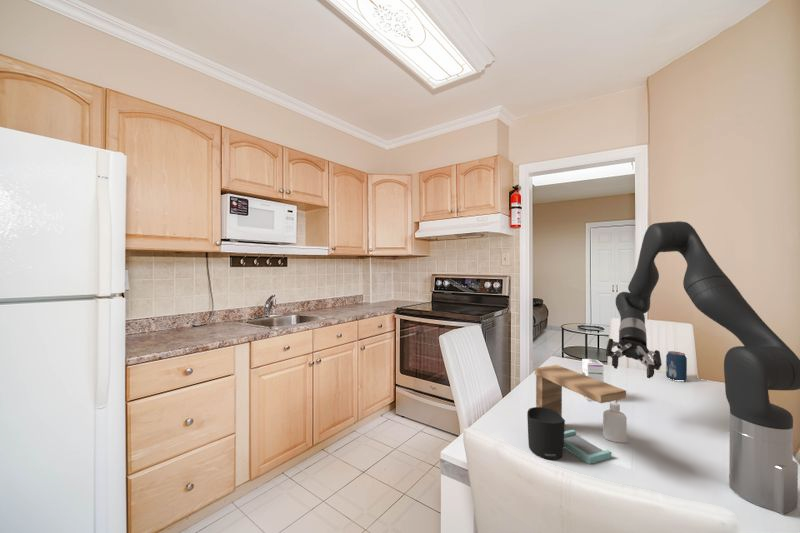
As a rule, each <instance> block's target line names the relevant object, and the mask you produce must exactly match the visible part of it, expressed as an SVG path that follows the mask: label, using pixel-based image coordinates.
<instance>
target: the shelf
mask: <svg viewBox="0 0 800 533" xmlns="http://www.w3.org/2000/svg"><path fill="white" fill-rule="evenodd" d="M534 375H535V376H536V377H535V379H536V380H535V381H536V382H535V383H536V384H535V386H536V387H535V389H536V390H535V405H536V406H535V407H544V408H549V409H552V410H555V411H556V412H558V413H559V414H560V415H561V417H562V418H563V414H562V413H563V411H562V410H563V398H562V397H563V388H565V389H567V390H569V391H572V392H575V393H577V394H578V395H581V396H583V397H584V396H585V397H588V398H590V399H592V400H594V401H593V402H597V403H599V404H605V403H610V402H613V401H615V400H617V401H619V400H624V399H626V398H627V390H626V389H623V388H621V387H617V386H615V385H612V384H609V383H607V382H602V381H599V380H596V379H594V378H591V377H588V376H586V375H583V374H582V373H580V372H577V371H574V370H572V369H569V368H567V367H563V366H561V365H558V364H554V365H546V366H540V367H535V368H534ZM585 397H584V398H585Z"/></svg>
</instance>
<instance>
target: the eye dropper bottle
mask: <svg viewBox="0 0 800 533" xmlns="http://www.w3.org/2000/svg"><path fill="white" fill-rule="evenodd" d="M602 416H603V417H602V435H603V437H604V438H603V439H605V440H607V441H610V442H613V443H619V444H620V443H623V444H624V443H627V441H628V439H627V437H628V433H627V432H628V431H627V428H628V427H627V425H628V424H627V423H628V422H627V416H626V414H625V413H624V412H622V411H621V404H620V403H618V400H615V401H610V402H609V409H605V410H604V411H603V414H602Z"/></svg>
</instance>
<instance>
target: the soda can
mask: <svg viewBox="0 0 800 533" xmlns="http://www.w3.org/2000/svg"><path fill="white" fill-rule="evenodd" d="M665 358H666V360H665V362H666V363H665V364H666V365H665V369H666V370H665V375H666V377H667V379H668V378H670V379H674V380H685V381H686V380H687V376H688V373H687V372H688V371H687V370H688V368H687V367H688V365H687V364H688V358H687V356H686V354H685V353H683V352H680V351H671V350H669V351H668V352H667V354H666V356H665ZM670 379H669V380H670Z"/></svg>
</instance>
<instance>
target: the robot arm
mask: <svg viewBox="0 0 800 533" xmlns="http://www.w3.org/2000/svg"><path fill="white" fill-rule="evenodd" d="M671 252H678V253H679V254H681V255H682V256H683V259H684V260H685V262H686V269H685V272H684V277H683V282H682V284H683V285H682V286H683V289H684V291H685V293H686V294H687V296H688V297H689V299H690V302H692V304H693V305H694V306H695V308H696V309H697V310H698V311H699V312H700V313H702V314H703V315H704V316H706V317H707V318H709V319H710V320H712V321H713V322H715V323H717V324H718V325H720V326H722V327H723V328H724V329H726V330H727V331H728V332H730V333H731V334H733V335H734V336H735V337H736V339H738V340H739V341H740V343H741V344H742V345H743V346H741V345H739V346H733V347H731V348H729V349H728V350H727V351H726V353H725V355H724V359H723V374H724V389H725V390H724V391H725V396H726V397H725V398H726V400H727V402H728V405H729V455H728V456H729V461H728V463H729V465H728V467H729V470H728V471H729V474H728V476H729V477H728V480H729V483H728V484H729V488H730V489H731V491H733V492H734V494H736V495H738V496H739V497H740V498H742V499H744V500H746V501H748V502H749V503H752V504H754V505H757V506H760V507H762V508H765V509H768V510H771V511H774V512H777V513H778V514H781V515H784V514H787V513H788V512H791V511H793V510H794V509H796V508H798V498H799V497H798V486H799V485H798V484H799V483H798V480H799V479H798V478H799V476H798V475H799V474H798V473H799V472H798V471H799V467H798V466H799V465H798V462H797V461H794V460H793V459H794V457H793V456H794V417H793V415H792V413H791V412H790V411H789V410H787V409H785V408H783V407H782V406H779V405H777V404H774V403H771V402H770V395H769V391H785V392H787V391H798V390H800V358H799V357H798V355H797V354H796V353H795V351H793V350H792V349H791V348H790V347H789V346H788V345H787V344H786V343H785V342H784V341H783V340H782V339H781V338H780V337H779V336H778V334H776V332H774V331H773V330H772V328H770V327H769V326H768V325H767V324H766V322H765V321H764V320H763V319H762V318H761V317H760V316H759V314H758V313H757V312H756V311H755V310H754V308H753V307H752V306H751V305H750V304H749V302H748V301H747V300H746V299H745V298H744V296H743V295H742V293H741V292H740V291H739V289H738V288H737V286H736V285H735V284H734V283H733V282H732V280H731V279H730V278H729V277H728V276H727V274H726V273H725V272H724V271H723V269H721V267H720V265H718V264H717V262H716V260H715V259H714V258H713V256H712V255H711V253H710V251H708V249H707V247H706V246H705V244H704V243H703V241H702V238H701V237H700V236H699V234H698V233H697V231H696V228H694V227H693V226H692V225H691V224H690V223H689V222H686V221H681V220H680V221H679V220H678V221H666V222H665V221H664V222H657V223H653V224H650V225H649V226H648V227H647V228H646V230H645V233H644V235H643V239H642V243H641V247H640V251H639V255H638V260H637V265H636V269H635V271H634V274H633V276H632V278H631V280H630V282H629V283H628V286H627V290H628V291H629V292H628V291H621V292H619V293H618V294H617V295H616V297H615V306H616V309H617V311H618V313H619V316H620V322H619V323H620V325H619V329H618V342H617V341H614V339H613V338H608V341H607V343H606V348H605V349H606V350H605V356H606V357H610V358H611V366H612V367H613V369H615V370H616V369H618V366H619V359H620V358H622V357H624V356H625V357H626V358H629V359H633V360H635V361H639V362H640V363H641V364H642V365H644V366H645V368H646V378H647V379H651V378H653V377H654V375H655V370H656V371H659V370H660V369H661V366H662V359H661V358H662V357H661V352H660V351H659V350H656V349H655V350H654V351H653V350H649V348H648V343H647V340H648V339H647V328H646V318H645V317H646V316H645V314H647V313H648V312H649V310H650V309H651V296H652V293H653V292H654V289H655V287H656V286H657V283H659V280H660V279H659V278H660V274H659V273H660V272H659V269H658V267H657V265H656V263H655V259H656V258H657V257H658V254H659V253H671ZM615 347H617V350H616V351H613V349H614V348H615Z"/></svg>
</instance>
